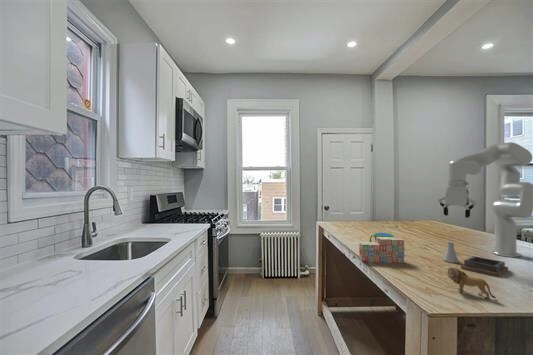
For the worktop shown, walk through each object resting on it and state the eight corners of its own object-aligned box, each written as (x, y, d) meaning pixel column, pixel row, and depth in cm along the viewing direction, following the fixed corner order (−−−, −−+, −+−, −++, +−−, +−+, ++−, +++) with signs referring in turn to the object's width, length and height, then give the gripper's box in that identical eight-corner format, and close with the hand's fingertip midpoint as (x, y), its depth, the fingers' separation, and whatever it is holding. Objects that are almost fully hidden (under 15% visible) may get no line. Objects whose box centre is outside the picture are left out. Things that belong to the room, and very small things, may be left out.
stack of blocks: (362, 262, 144) (361, 238, 144) (359, 258, 150) (359, 236, 150) (404, 263, 142) (404, 239, 142) (399, 260, 148) (399, 237, 148)
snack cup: (367, 250, 168) (367, 233, 168) (373, 247, 176) (373, 231, 176) (394, 255, 158) (394, 237, 158) (399, 251, 166) (399, 234, 166)
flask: (457, 260, 147) (457, 241, 147) (460, 264, 141) (460, 244, 141) (441, 258, 150) (441, 240, 150) (443, 262, 144) (443, 243, 144)
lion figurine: (446, 291, 106) (446, 267, 106) (448, 287, 110) (448, 264, 110) (496, 302, 97) (495, 276, 97) (495, 297, 101) (495, 272, 101)
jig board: (473, 263, 142) (472, 255, 143) (508, 270, 131) (507, 261, 131) (460, 268, 133) (460, 260, 133) (497, 276, 122) (497, 267, 122)
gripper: (479, 184, 141) (478, 218, 141) (441, 184, 155) (441, 214, 154) (474, 184, 137) (473, 218, 136) (436, 183, 150) (435, 214, 150)
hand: (456, 216), depth 145 cm, fingers open, 9 cm apart
